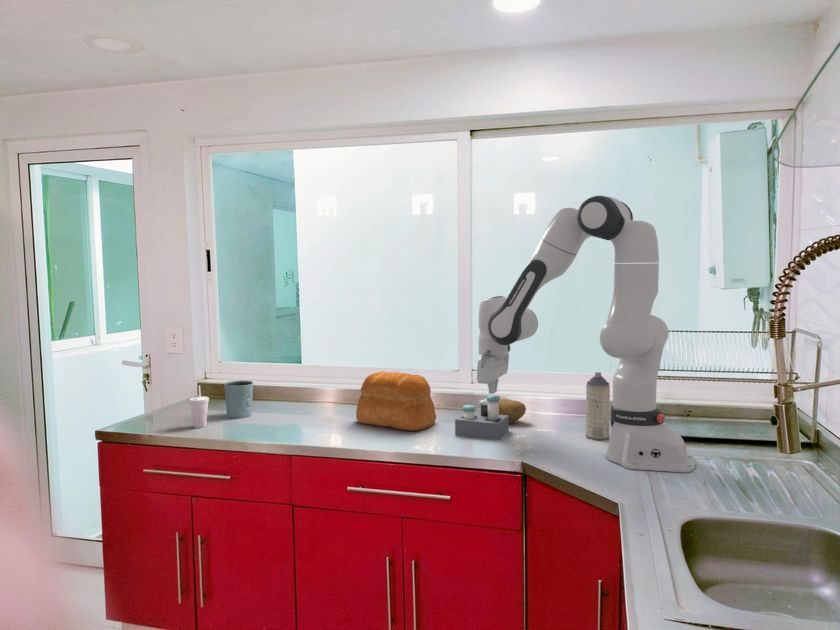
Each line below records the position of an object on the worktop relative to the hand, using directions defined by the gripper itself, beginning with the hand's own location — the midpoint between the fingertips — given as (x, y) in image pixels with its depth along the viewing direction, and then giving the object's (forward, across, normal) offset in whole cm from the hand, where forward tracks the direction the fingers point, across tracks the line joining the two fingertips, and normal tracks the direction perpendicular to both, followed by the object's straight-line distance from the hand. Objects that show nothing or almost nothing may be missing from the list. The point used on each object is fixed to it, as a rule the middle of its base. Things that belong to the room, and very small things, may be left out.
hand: (492, 392), depth 184 cm
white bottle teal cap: (+8, 0, 0) cm, 8 cm away
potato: (+14, +16, +1) cm, 21 cm away
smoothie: (+14, -28, +94) cm, 99 cm away
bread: (+14, +2, +35) cm, 38 cm away
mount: (+13, +1, +4) cm, 14 cm away
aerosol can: (+14, +10, -30) cm, 34 cm away
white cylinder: (+12, 0, +8) cm, 15 cm away
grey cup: (+14, -11, +92) cm, 94 cm away
